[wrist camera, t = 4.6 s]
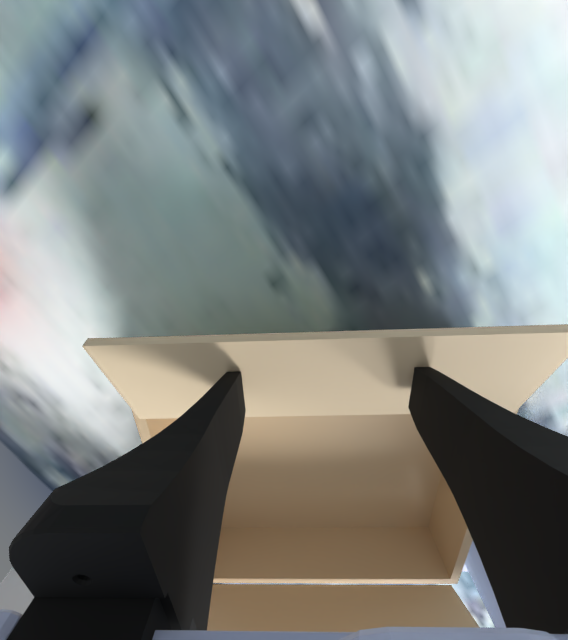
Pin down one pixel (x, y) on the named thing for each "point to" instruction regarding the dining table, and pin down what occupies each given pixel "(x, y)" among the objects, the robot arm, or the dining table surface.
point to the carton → (336, 504)
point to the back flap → (334, 607)
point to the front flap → (328, 367)
